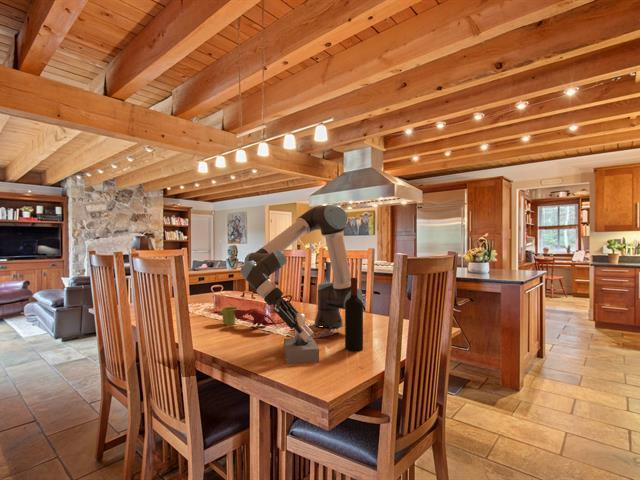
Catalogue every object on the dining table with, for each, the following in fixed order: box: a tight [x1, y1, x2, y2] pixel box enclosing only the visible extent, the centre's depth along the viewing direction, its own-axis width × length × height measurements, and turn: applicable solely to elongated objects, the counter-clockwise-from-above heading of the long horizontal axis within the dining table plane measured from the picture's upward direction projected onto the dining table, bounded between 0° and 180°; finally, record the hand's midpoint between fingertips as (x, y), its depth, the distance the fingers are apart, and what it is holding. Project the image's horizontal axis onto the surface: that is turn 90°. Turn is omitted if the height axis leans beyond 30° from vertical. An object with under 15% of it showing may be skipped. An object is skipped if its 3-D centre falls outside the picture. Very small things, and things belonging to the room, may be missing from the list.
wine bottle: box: [344, 277, 364, 353], centre depth 147 cm, size 8×8×30 cm
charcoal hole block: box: [283, 336, 320, 365], centre depth 138 cm, size 12×16×5 cm
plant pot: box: [219, 306, 239, 326], centre depth 190 cm, size 9×9×9 cm
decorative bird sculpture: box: [234, 308, 277, 330], centre depth 181 cm, size 28×9×15 cm
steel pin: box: [294, 312, 306, 346], centre depth 137 cm, size 4×4×12 cm
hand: (309, 336), depth 137 cm, fingers closed on steel pin, 4 cm apart
